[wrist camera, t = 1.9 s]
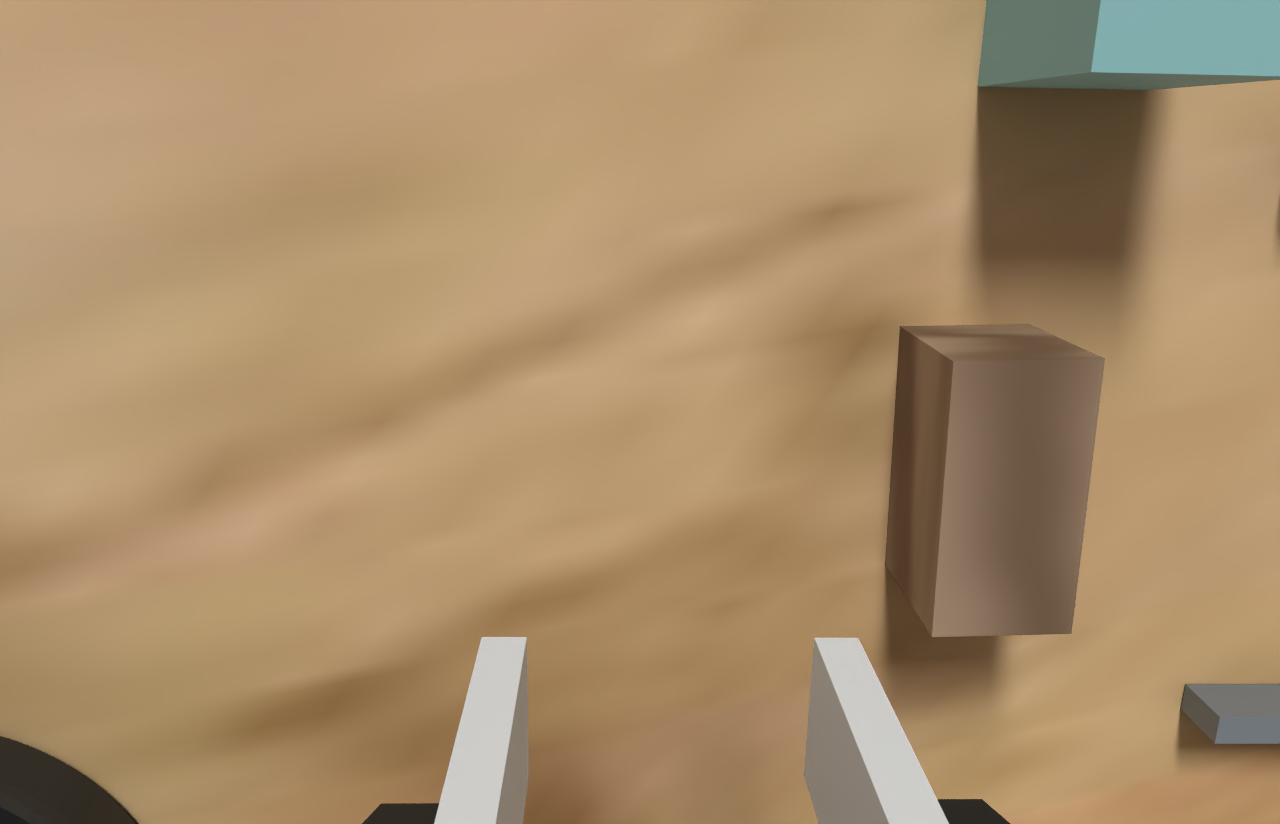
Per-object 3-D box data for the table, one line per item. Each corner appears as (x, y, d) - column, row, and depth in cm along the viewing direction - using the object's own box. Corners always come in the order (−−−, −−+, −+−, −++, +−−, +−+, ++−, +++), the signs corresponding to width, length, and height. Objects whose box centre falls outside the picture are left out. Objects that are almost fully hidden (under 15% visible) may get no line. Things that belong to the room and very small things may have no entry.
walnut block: (884, 562, 33) (931, 637, 28) (898, 325, 30) (953, 361, 26) (1003, 560, 33) (1071, 633, 28) (1026, 323, 30) (1104, 358, 26)
